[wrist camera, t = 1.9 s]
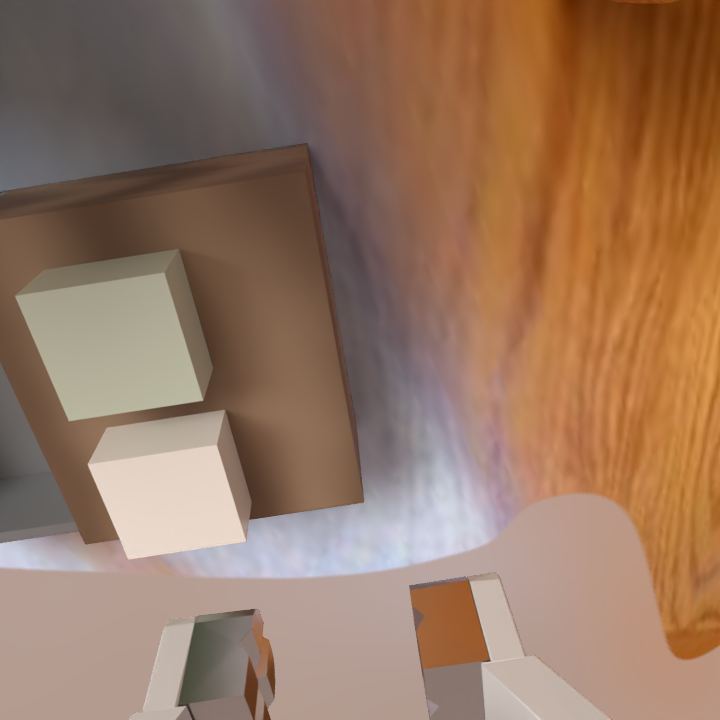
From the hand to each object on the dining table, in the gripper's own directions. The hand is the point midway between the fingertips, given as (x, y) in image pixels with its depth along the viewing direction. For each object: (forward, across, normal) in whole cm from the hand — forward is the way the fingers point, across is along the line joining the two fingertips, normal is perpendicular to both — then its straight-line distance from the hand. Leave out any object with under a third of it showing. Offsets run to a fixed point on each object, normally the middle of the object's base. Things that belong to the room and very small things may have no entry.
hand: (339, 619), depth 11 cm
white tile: (+15, +8, +7) cm, 18 cm away
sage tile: (+15, +8, 0) cm, 17 cm away
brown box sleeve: (+21, +6, +3) cm, 22 cm away
